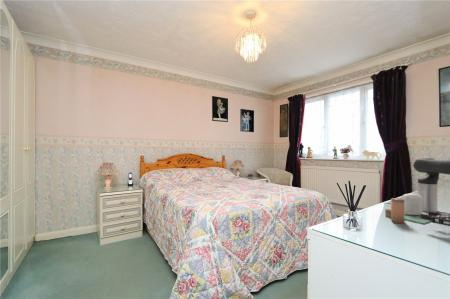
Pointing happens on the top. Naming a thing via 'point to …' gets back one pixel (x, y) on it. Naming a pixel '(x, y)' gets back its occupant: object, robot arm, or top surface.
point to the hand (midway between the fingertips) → (425, 214)
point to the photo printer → (413, 204)
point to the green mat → (416, 219)
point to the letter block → (388, 212)
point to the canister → (398, 210)
